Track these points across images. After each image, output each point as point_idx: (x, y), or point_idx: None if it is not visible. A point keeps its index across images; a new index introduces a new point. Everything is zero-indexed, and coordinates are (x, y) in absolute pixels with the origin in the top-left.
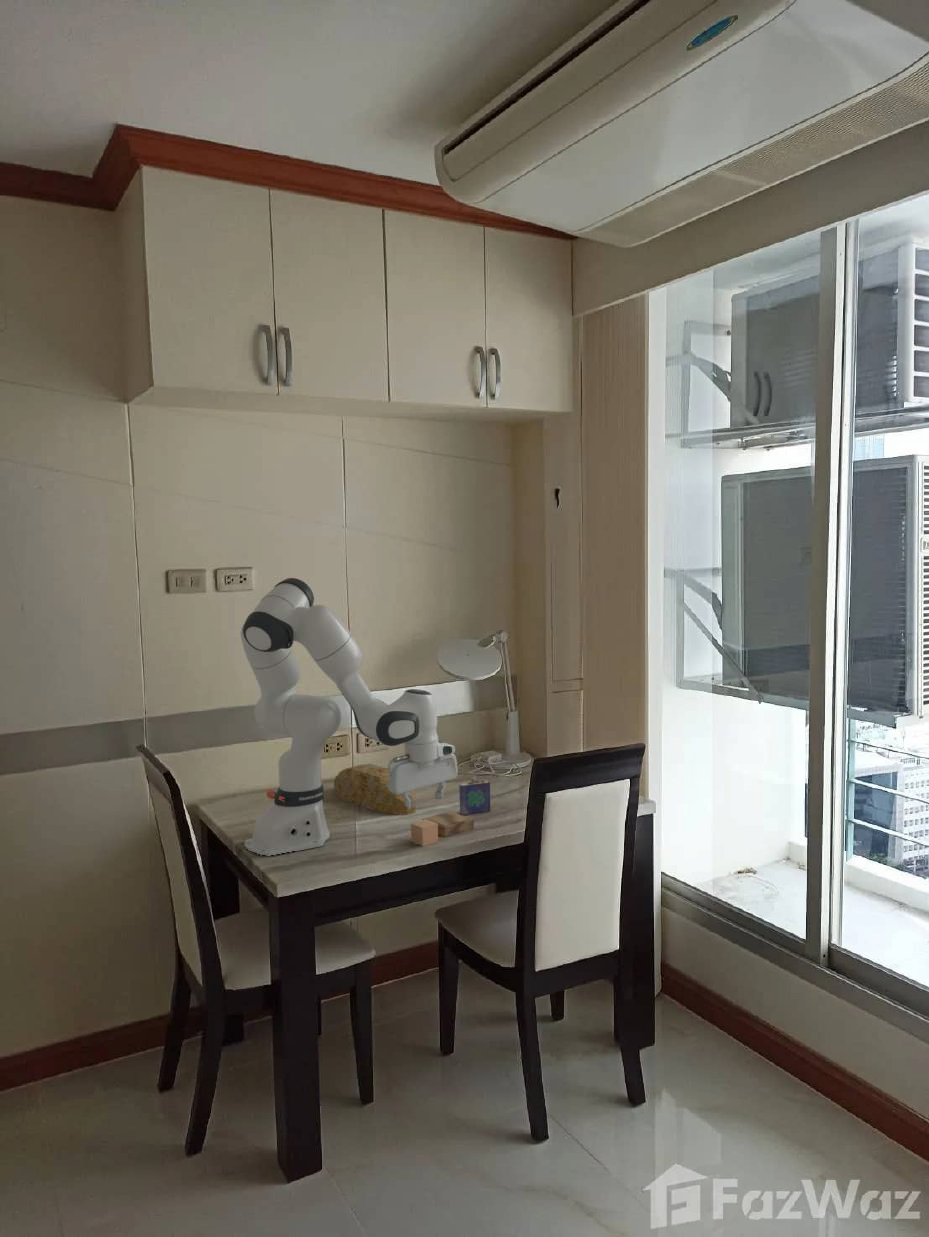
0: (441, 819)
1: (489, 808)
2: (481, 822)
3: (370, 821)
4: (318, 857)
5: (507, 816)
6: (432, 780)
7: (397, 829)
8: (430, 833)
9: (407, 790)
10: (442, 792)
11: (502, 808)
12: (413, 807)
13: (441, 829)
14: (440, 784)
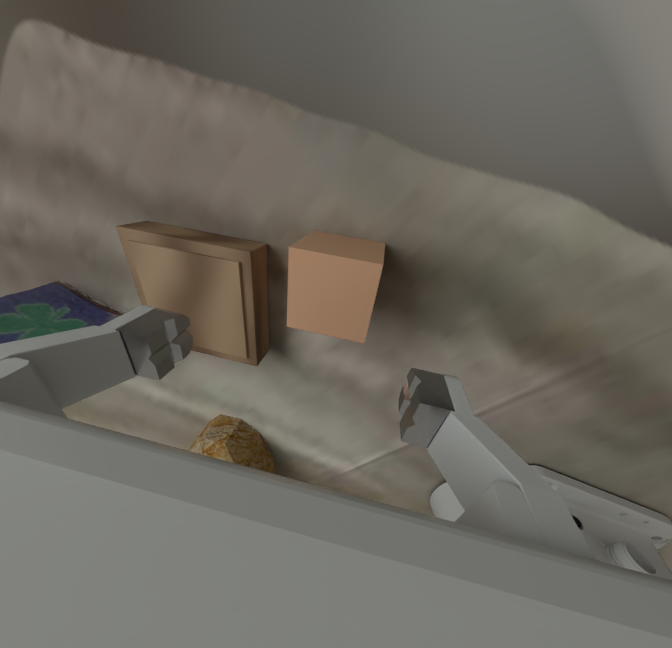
0: (213, 315)
1: (44, 285)
2: (104, 240)
3: (324, 454)
4: (637, 438)
5: (11, 209)
6: (17, 511)
7: (321, 391)
8: (341, 245)
9: (649, 599)
10: (109, 324)
11: (16, 271)
12: (216, 426)
13: (256, 269)
14: (36, 389)
